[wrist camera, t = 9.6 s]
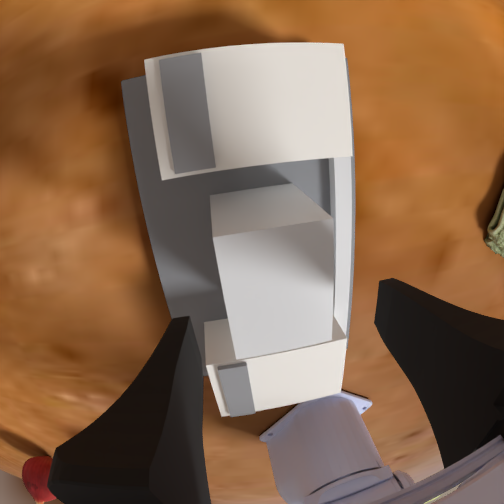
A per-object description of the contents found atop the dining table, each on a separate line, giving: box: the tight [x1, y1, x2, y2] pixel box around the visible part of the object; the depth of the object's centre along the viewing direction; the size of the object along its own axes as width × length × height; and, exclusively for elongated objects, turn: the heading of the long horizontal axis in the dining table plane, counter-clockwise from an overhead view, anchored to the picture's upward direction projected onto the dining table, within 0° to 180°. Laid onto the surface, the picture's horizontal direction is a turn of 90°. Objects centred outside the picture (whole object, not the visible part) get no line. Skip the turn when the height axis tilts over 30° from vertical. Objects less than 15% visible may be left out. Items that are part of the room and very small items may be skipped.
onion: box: [22, 456, 56, 504], centre depth 24 cm, size 6×6×8 cm
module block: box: [210, 183, 334, 360], centre depth 15 cm, size 6×4×6 cm
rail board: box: [121, 43, 355, 417], centre depth 17 cm, size 20×12×6 cm, turn 6°
